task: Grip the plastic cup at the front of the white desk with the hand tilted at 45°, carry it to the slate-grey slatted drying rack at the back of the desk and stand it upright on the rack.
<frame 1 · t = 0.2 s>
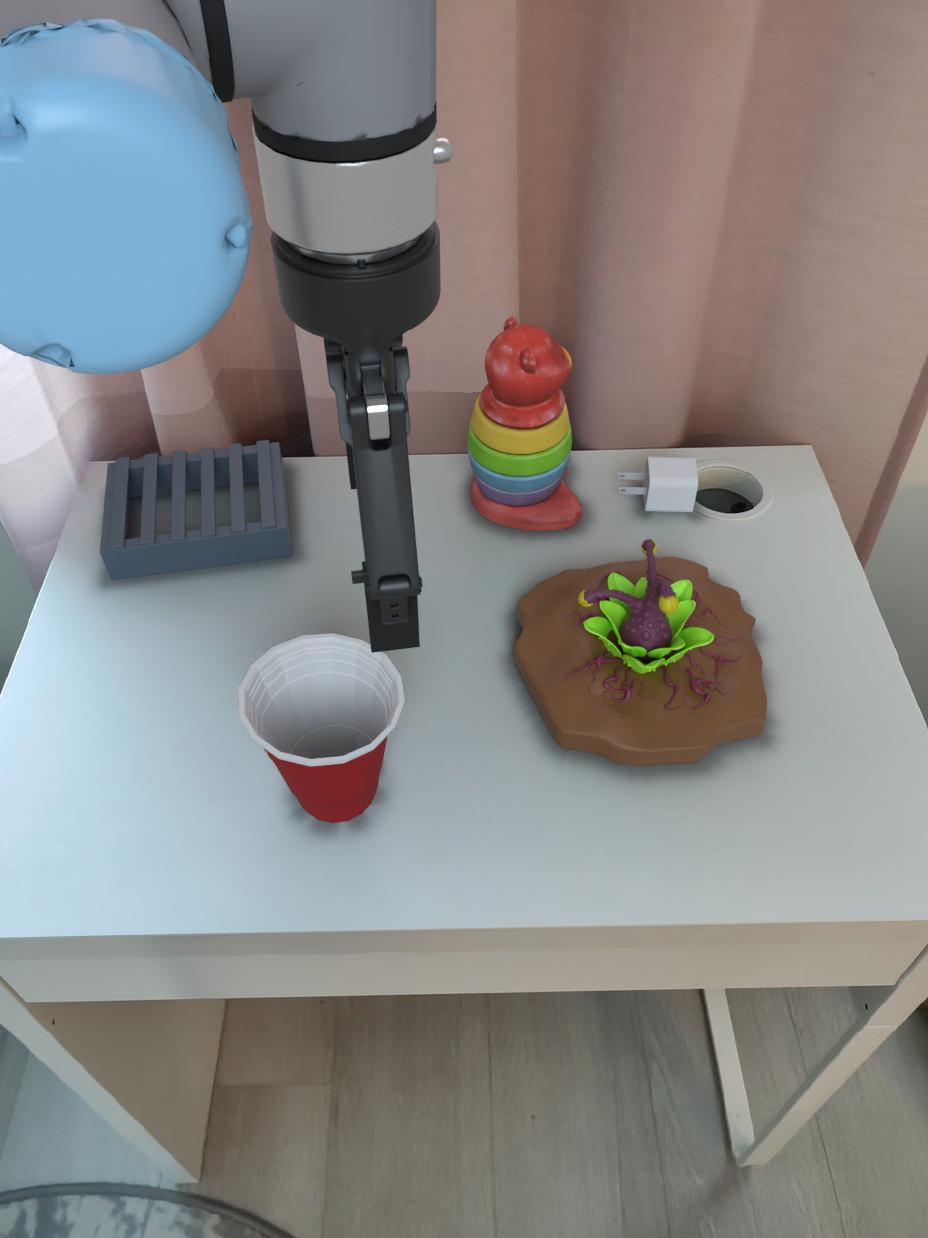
hand: (382, 558, 60), 21 cm above the table, tool pointing down, fingers open, 13 cm apart
plastic cup: (341, 790, 74), on the table
dish rack: (202, 522, 93), on the table
usb wall charger: (652, 501, 94), on the table
plant: (639, 667, 81), on the table
stacking bear: (521, 497, 95), on the table
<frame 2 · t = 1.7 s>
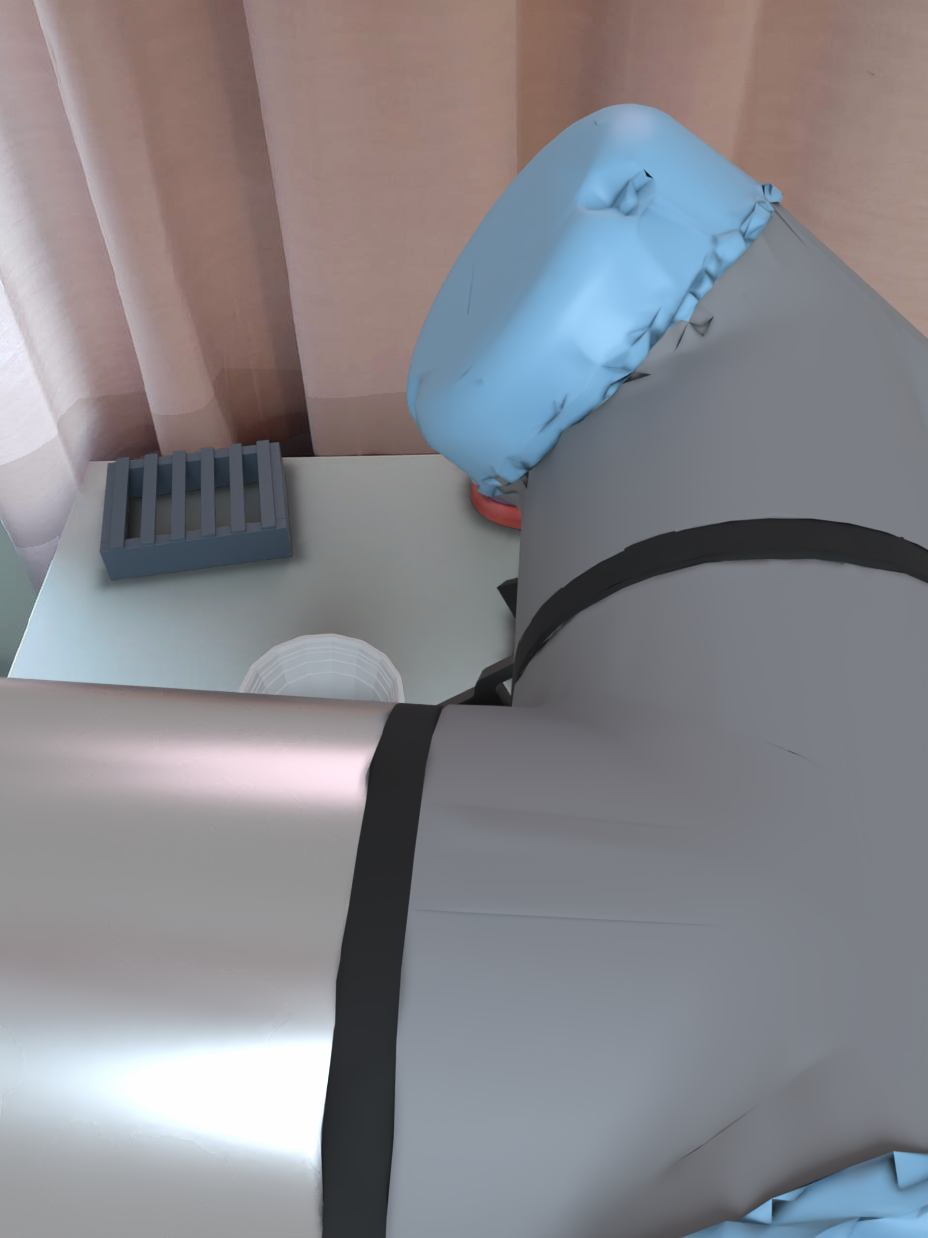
hand: (424, 675, 52), 23 cm above the table, tool tilted 45°, fingers open, 13 cm apart
nothing on the table moved.
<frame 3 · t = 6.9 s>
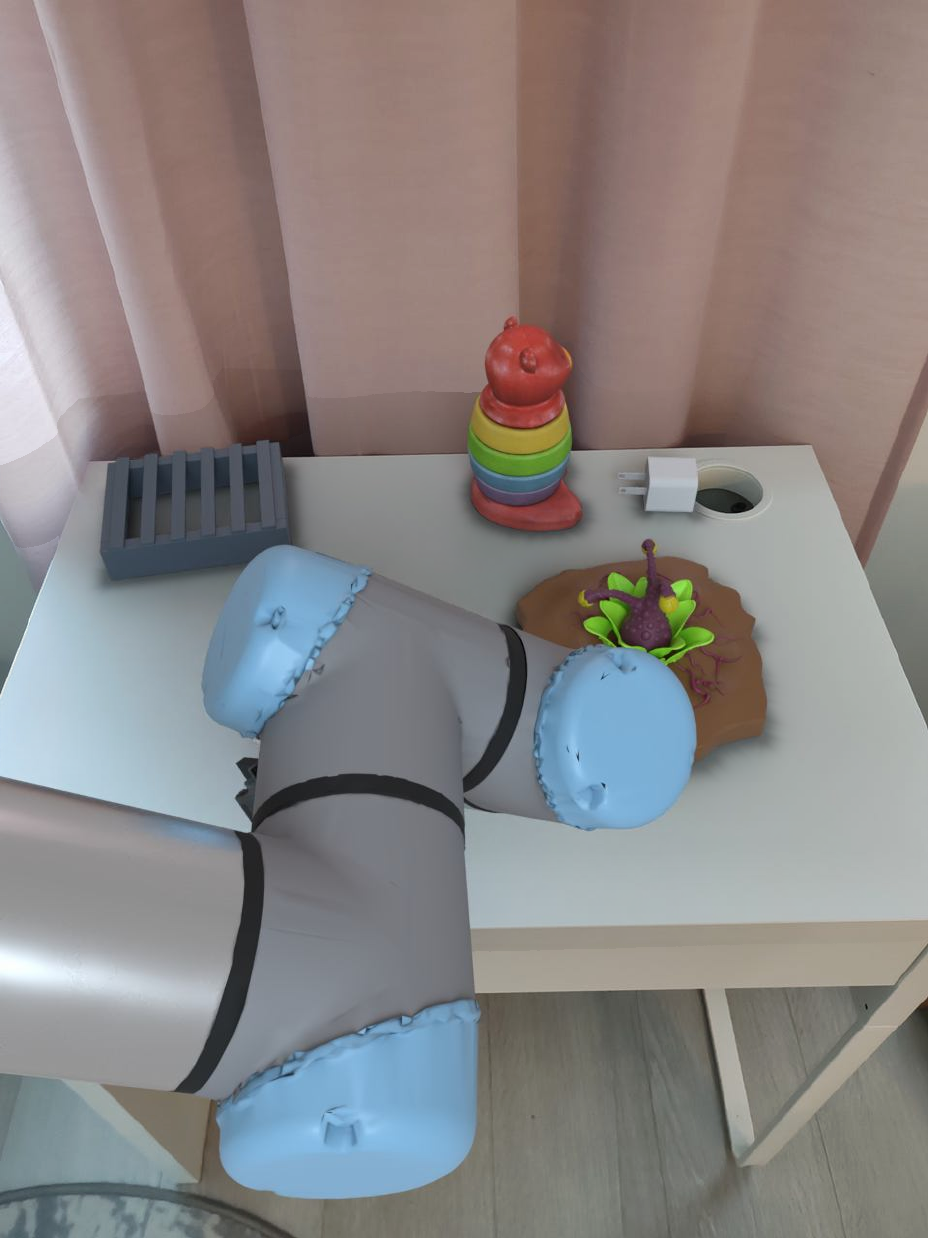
hand: (306, 732, 72), 4 cm above the table, tool tilted 45°, fingers closed on plastic cup, 9 cm apart
plastic cup: (341, 790, 74), on the table, touching gripper
everything else where it was.
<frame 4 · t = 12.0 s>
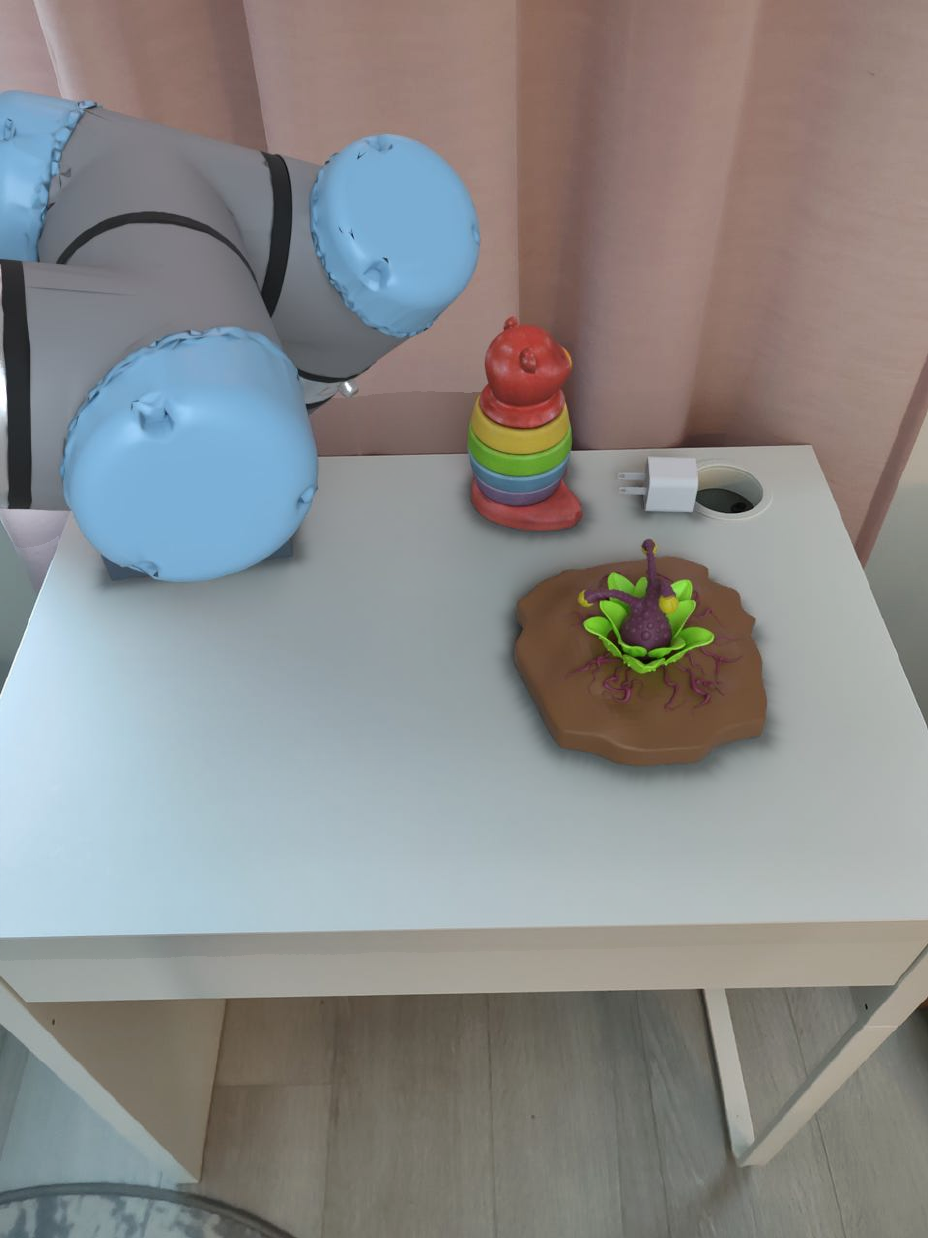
hand: (188, 441, 73), 17 cm above the table, tool tilted 45°, fingers closed on plastic cup, 9 cm apart
plastic cup: (224, 505, 75), point 13 cm above the table, touching gripper
everything else where it was.
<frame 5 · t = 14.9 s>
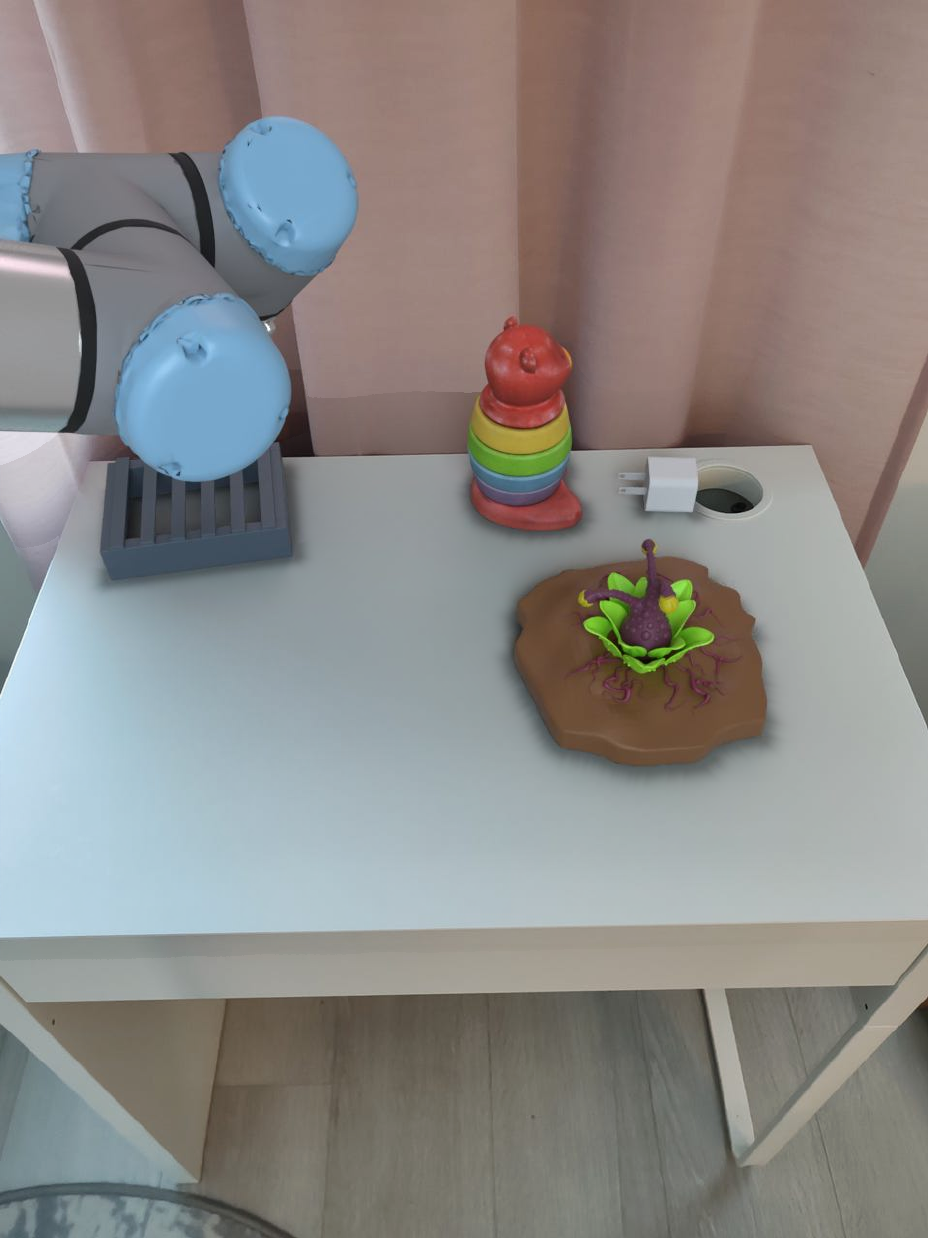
hand: (147, 390, 84), 13 cm above the table, tool tilted 45°, fingers closed on plastic cup, 9 cm apart
plastic cup: (180, 446, 86), point 9 cm above the table, touching gripper
everything else where it was.
when the fingers open (8 cm above the table, at t = 16.9 s): plastic cup stays where it is, resting on dish rack.
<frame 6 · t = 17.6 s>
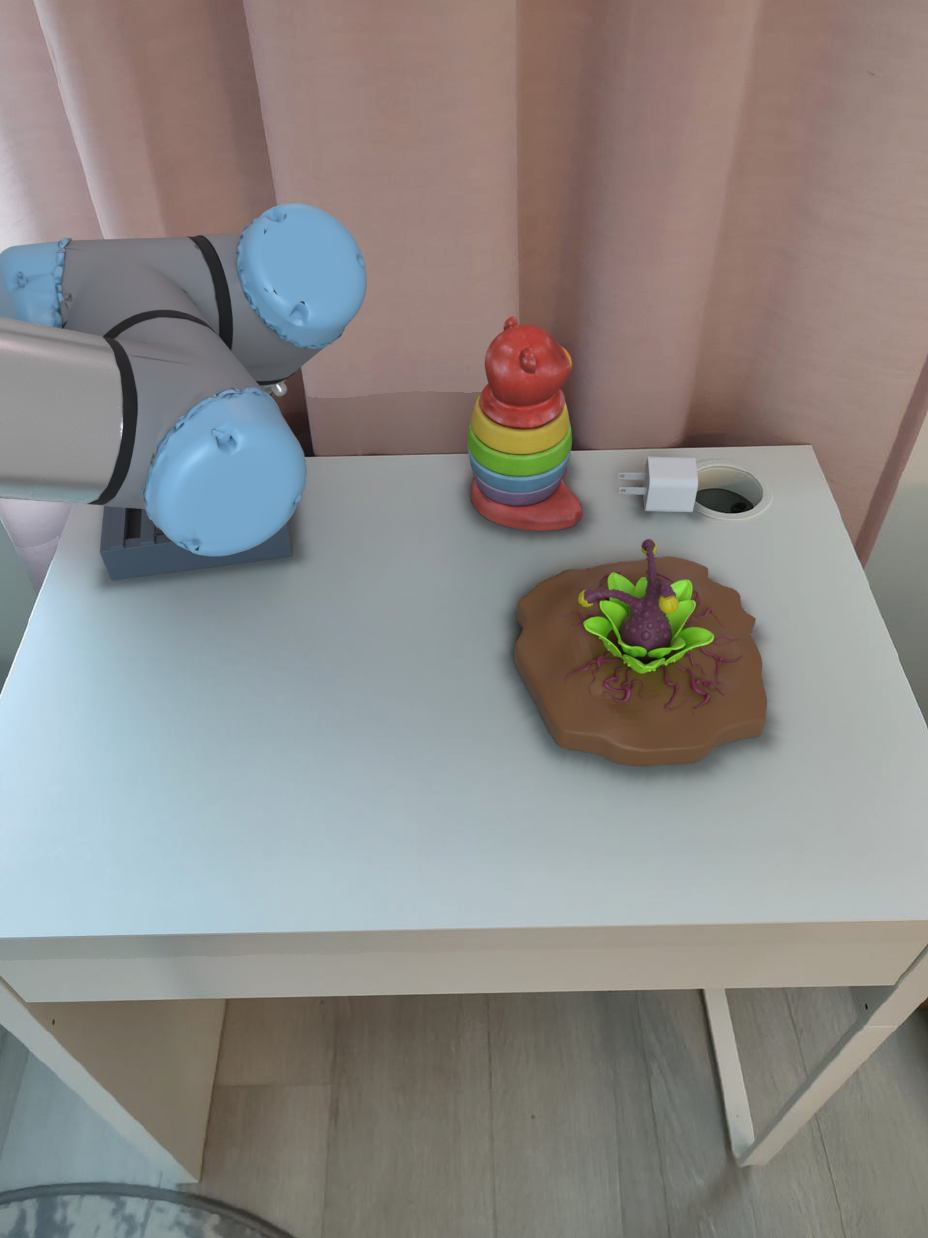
hand: (163, 430, 87), 9 cm above the table, tool tilted 45°, fingers open, 13 cm apart
plastic cup: (193, 492, 90), point 4 cm above the table, touching dish rack
everything else where it was.
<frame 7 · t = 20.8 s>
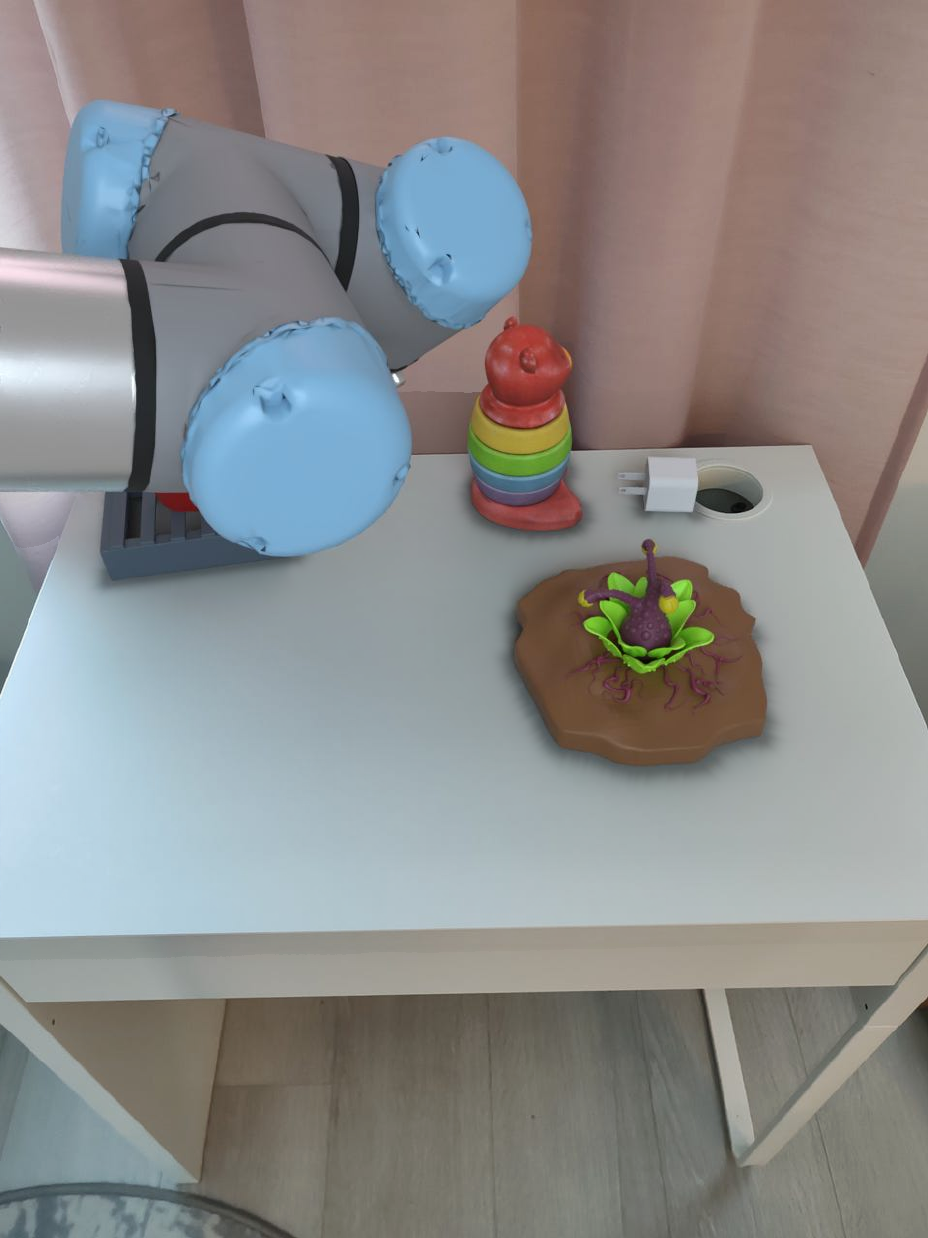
hand: (227, 430, 74), 17 cm above the table, tool tilted 45°, fingers open, 13 cm apart
nothing on the table moved.
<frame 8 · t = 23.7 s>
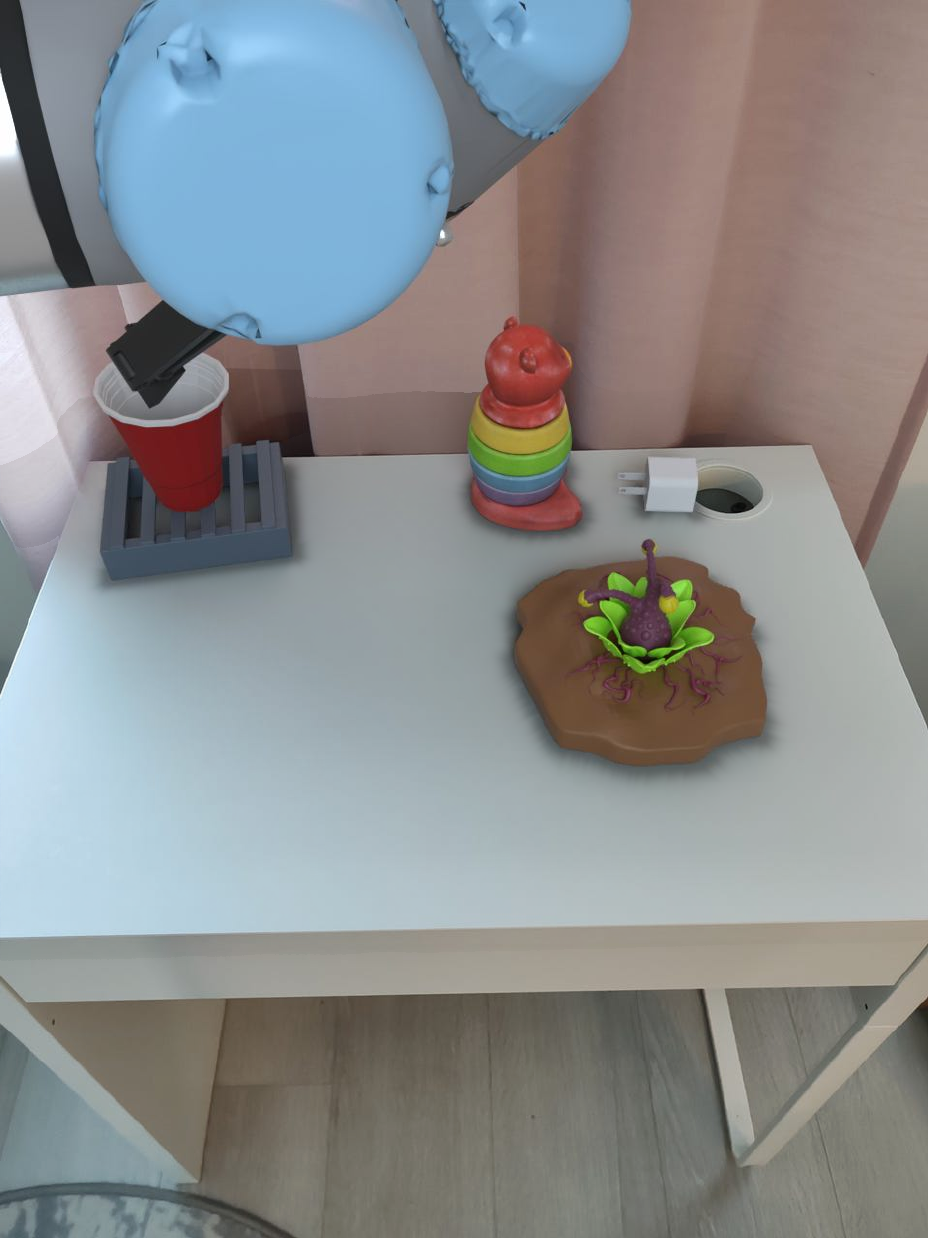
hand: (232, 340, 64), 28 cm above the table, tool tilted 45°, fingers open, 13 cm apart
nothing on the table moved.
at the end: plastic cup inside the target area on the dish rack (0.0 cm from its centre), point 3.8 cm above the dish rack's base; plastic cup tilted 0°; the gripper is holding nothing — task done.
